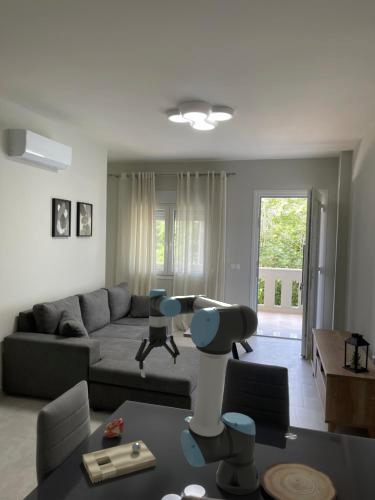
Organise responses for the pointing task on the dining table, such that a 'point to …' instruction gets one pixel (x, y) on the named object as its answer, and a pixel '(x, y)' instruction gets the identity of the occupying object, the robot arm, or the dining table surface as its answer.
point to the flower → (114, 428)
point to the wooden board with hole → (117, 461)
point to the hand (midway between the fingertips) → (157, 374)
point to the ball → (136, 447)
